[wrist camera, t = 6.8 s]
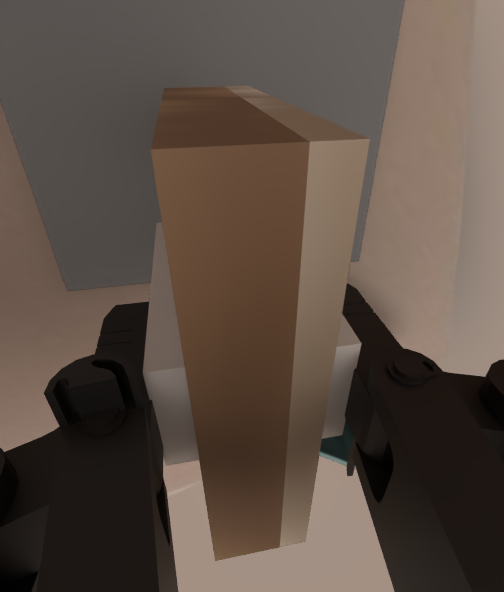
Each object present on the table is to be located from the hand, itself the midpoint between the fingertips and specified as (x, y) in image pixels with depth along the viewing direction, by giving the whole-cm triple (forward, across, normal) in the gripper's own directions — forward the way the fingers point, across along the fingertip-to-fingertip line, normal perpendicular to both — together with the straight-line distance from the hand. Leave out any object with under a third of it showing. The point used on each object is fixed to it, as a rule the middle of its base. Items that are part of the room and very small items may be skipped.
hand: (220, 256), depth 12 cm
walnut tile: (+1, 0, 0) cm, 1 cm away
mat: (+11, +1, +1) cm, 11 cm away
